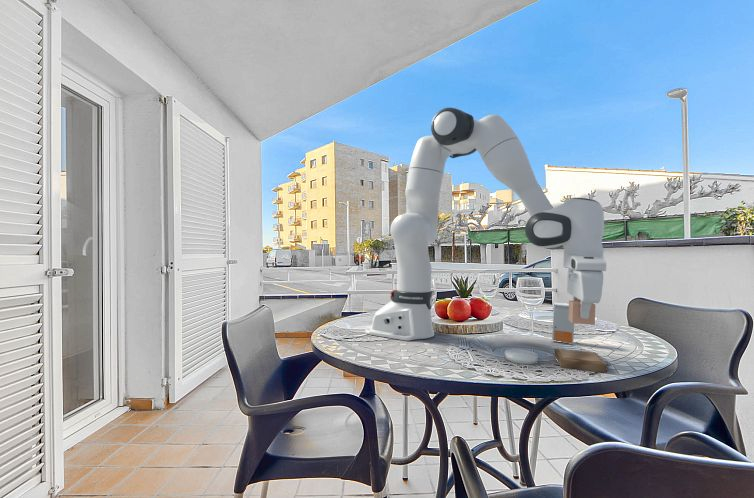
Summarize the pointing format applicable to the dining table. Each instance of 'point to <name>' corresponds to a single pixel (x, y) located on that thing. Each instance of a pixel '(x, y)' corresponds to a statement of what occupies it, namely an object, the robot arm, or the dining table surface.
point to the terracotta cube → (575, 313)
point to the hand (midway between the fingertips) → (581, 315)
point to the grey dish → (521, 356)
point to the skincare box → (562, 324)
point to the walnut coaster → (580, 360)
